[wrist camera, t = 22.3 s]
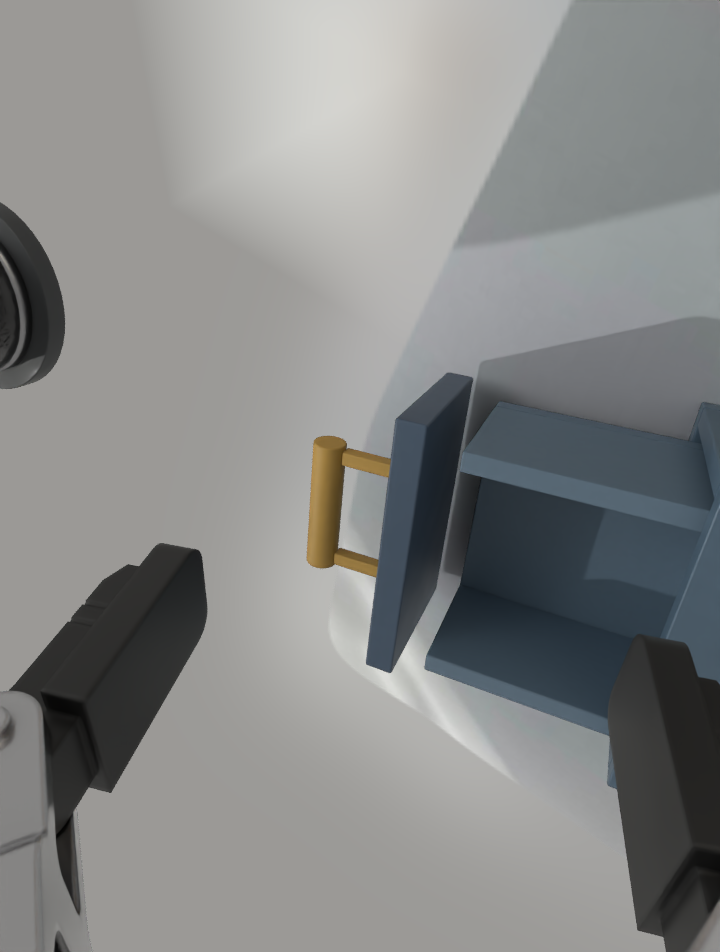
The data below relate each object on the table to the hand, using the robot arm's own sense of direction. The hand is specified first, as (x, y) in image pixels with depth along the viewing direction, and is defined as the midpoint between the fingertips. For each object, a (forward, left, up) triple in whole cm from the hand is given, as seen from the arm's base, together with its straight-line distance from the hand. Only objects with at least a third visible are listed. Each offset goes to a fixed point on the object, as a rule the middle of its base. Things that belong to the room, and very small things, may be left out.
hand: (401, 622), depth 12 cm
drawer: (0, -6, -17) cm, 18 cm away
